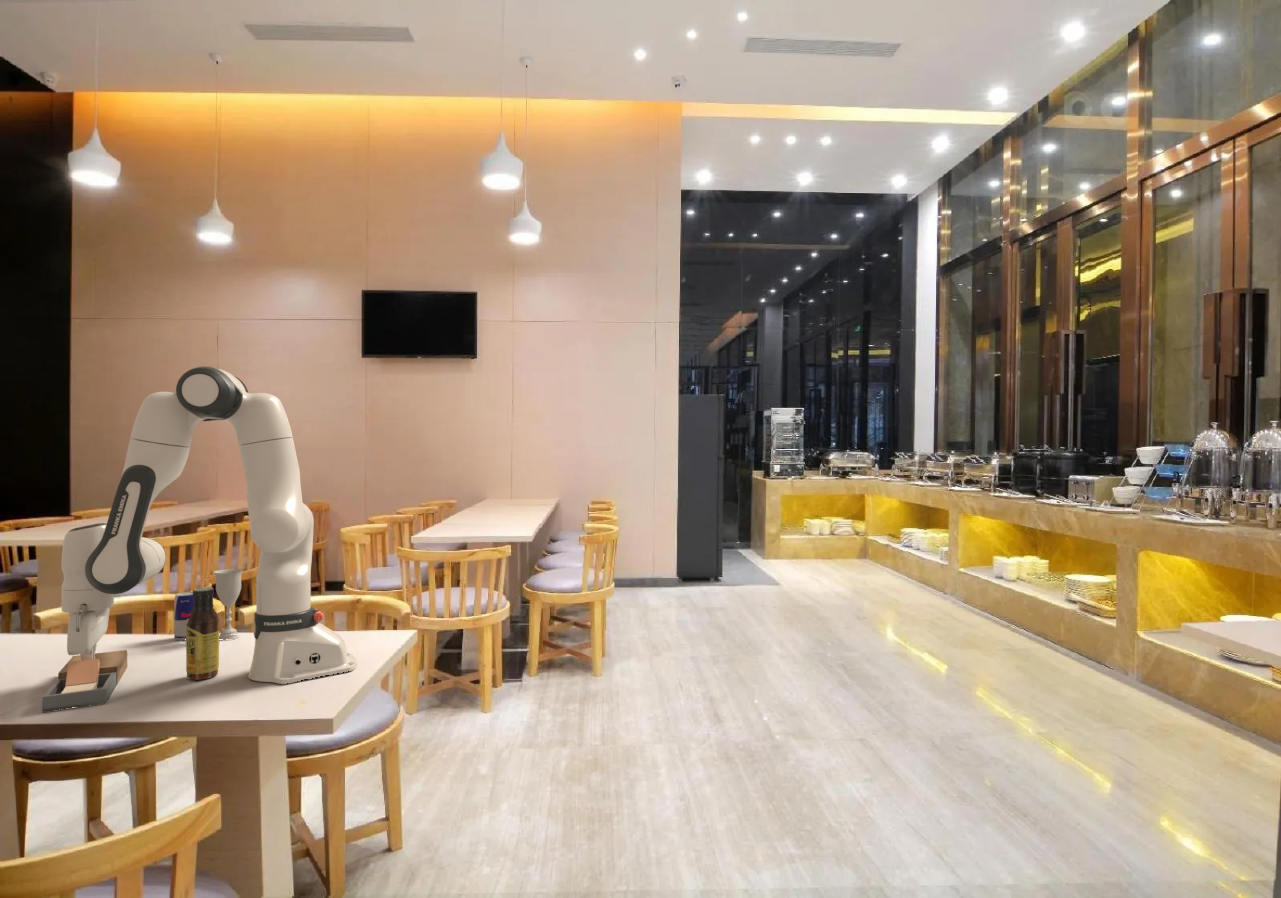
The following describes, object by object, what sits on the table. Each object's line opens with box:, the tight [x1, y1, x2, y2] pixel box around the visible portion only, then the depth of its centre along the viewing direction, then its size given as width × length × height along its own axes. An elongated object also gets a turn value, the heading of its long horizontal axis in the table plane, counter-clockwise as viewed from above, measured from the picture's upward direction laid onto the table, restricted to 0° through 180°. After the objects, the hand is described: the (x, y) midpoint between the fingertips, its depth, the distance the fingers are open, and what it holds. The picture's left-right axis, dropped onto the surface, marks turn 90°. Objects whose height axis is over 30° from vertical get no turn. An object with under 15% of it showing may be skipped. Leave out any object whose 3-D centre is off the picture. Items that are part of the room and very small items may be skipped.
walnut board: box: [57, 649, 128, 686], centre depth 157 cm, size 10×14×4 cm
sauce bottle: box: [185, 586, 220, 681], centre depth 159 cm, size 6×6×20 cm
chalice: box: [213, 568, 244, 641], centre depth 191 cm, size 7×7×18 cm
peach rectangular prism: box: [66, 659, 100, 686], centre depth 148 cm, size 5×5×2 cm
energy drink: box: [173, 591, 194, 641], centre depth 191 cm, size 5×5×12 cm
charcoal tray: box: [41, 672, 117, 712], centre depth 145 cm, size 10×12×3 cm
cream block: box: [62, 682, 97, 693], centre depth 144 cm, size 5×5×2 cm
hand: (88, 665), depth 151 cm, fingers closed
